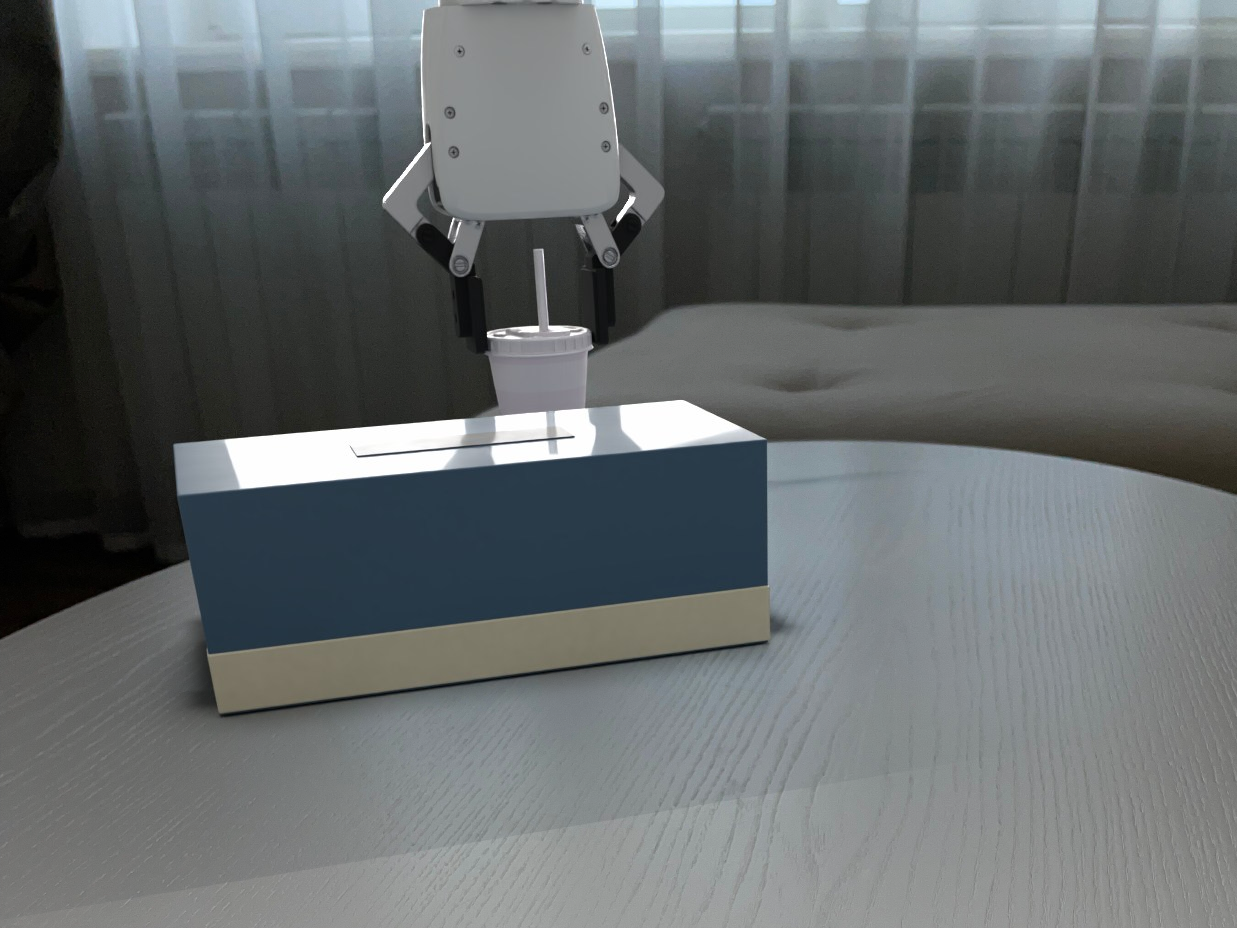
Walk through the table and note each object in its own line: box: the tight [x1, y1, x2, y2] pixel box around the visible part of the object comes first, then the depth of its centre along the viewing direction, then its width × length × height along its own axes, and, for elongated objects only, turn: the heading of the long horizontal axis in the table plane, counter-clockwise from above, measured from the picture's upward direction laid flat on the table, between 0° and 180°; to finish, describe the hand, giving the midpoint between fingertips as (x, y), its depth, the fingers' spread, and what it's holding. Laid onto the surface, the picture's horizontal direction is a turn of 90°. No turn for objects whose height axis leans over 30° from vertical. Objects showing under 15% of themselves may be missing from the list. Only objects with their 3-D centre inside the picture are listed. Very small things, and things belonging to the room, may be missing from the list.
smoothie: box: [484, 248, 594, 416], centre depth 84 cm, size 6×6×14 cm
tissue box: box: [172, 399, 771, 716], centre depth 62 cm, size 23×11×8 cm, turn 108°
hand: (537, 343), depth 83 cm, fingers closed on smoothie, 6 cm apart
